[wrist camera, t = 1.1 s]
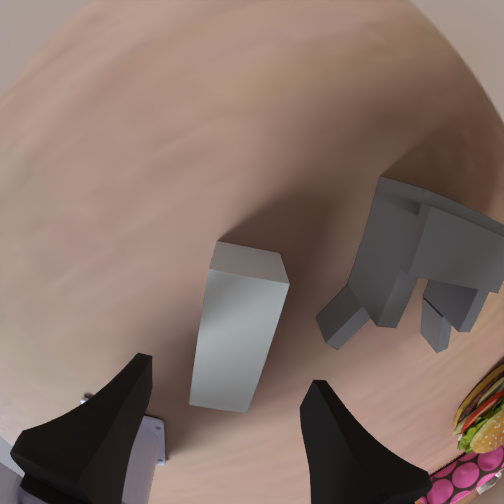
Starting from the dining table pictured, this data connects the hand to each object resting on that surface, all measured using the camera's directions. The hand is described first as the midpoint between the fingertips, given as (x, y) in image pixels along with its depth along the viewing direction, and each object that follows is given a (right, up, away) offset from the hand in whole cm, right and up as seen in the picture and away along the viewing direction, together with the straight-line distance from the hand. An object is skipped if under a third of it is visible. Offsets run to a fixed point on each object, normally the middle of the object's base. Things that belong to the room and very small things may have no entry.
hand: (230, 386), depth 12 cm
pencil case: (+40, -32, +20) cm, 55 cm away
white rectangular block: (0, +2, +6) cm, 6 cm away
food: (+31, -12, +12) cm, 36 cm away
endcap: (+11, +6, +5) cm, 13 cm away
